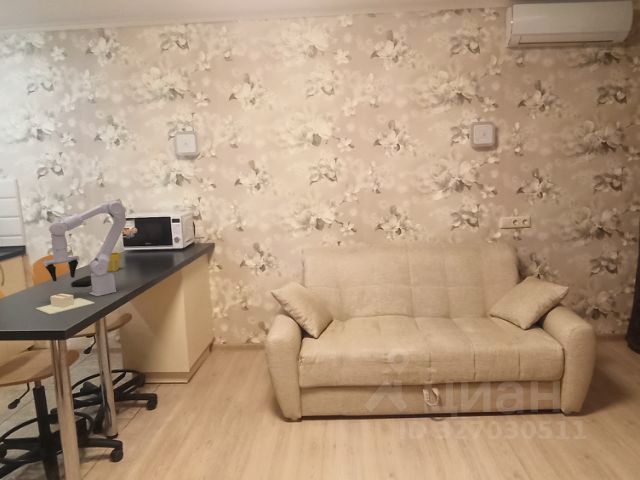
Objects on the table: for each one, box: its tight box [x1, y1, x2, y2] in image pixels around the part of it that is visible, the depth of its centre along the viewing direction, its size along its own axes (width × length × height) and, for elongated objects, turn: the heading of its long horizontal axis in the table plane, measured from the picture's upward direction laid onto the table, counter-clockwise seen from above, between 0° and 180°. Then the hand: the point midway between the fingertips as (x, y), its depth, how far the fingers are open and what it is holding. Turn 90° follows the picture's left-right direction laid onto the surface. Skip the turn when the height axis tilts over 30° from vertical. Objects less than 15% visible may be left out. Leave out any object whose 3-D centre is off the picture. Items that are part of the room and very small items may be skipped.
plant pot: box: [107, 251, 122, 273], centre depth 267 cm, size 10×10×10 cm
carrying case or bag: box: [70, 275, 92, 288], centre depth 238 cm, size 11×3×15 cm
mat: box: [35, 297, 95, 316], centre depth 198 cm, size 18×14×1 cm
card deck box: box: [49, 293, 75, 308], centre depth 199 cm, size 8×5×4 cm, turn 63°
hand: (63, 279), depth 208 cm, fingers open, 7 cm apart
